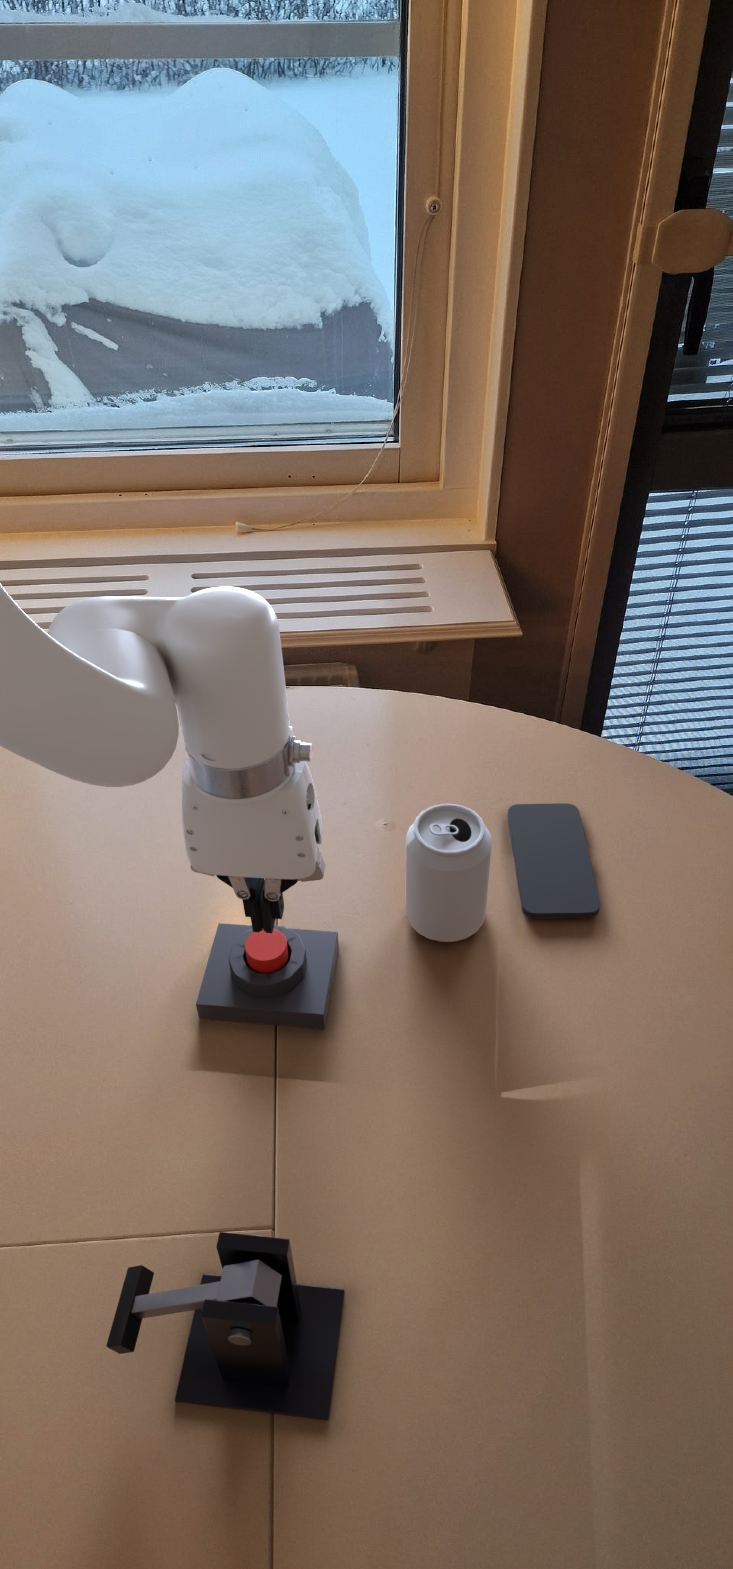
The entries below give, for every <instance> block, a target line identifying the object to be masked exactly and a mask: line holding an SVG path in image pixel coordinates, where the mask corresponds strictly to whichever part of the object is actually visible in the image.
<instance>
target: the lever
mask: <svg viewBox="0 0 733 1569" xmlns="http://www.w3.org/2000/svg"><path fill="white" fill-rule="evenodd" d="M154 1275H155V1272H154V1271H153V1270H151V1269H149V1268H147V1267H146V1266H144V1265H142V1264H140V1265H134V1266H130V1267H128V1268H127V1269H126V1274H125V1277H124V1280H123V1284H122V1288H121V1292H120V1295H119V1298H118V1302H117V1306H116V1309H115V1313H114V1317H113V1319H112V1324H111V1327H110V1331H109V1334H108V1337H107V1342H106V1346H105V1347H106V1348H108V1349H109V1350H112V1351H113V1352H114V1353H117V1354H119V1355H122V1354H129V1353H134V1352H135V1349H136V1346H137V1341H138V1338H139V1334H140V1330H141V1326H142V1323H143V1319H148V1318H154V1317H160V1316H166V1315H173V1314H179V1313H184V1312H190V1311H195V1310H198V1309H203V1305H204V1301H205V1299H210V1300H219V1301H228V1302H237V1303H246V1304H255V1305H264V1306H273V1307H277V1302H278V1296H279V1290H280V1284H281V1278H282V1275H281V1274H279V1273H278V1272H276V1271H275V1270H273V1269H272V1268H270V1267H269V1266H267V1265H266V1264H265V1263H263V1262H262V1261H260V1260H253V1261H247V1262H242V1263H237V1264H231V1265H226V1266H224V1267H223V1269H222V1272H221V1276H222V1277H221V1281H220V1282H214V1283H208V1284H202V1285H201V1284H198V1285H191V1286H186V1287H181V1288H174V1289H168V1290H163V1291H157V1292H152V1293H150V1291H151V1287H152V1284H153V1279H154Z"/></svg>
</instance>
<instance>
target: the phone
mask: <svg viewBox="0 0 733 1569" xmlns="http://www.w3.org/2000/svg"><path fill="white" fill-rule="evenodd" d="M507 822H508V823H507V824H508V829H509V835H510V836H509V837H510V841H511V847H512V856H513V861H514V868H515V875H516V882H517V883H516V884H517V888H518V893H519V900H520V907H521V911H522V913H523V915H525V916H526V917H528V918H531V919H582V918H584V919H585V918H593V917H596V916H597V915H598V914H599V913H600V909H601V901H600V895H599V891H598V888H597V883H596V878H595V874H594V869H593V865H592V861H591V856H590V852H589V849H588V842H587V839H586V834H585V830H584V826H583V822H582V818H581V813H580V810H579V808H578V807H577V806H576V805H575V804H572V803H562V802H559V803H518V804H513V805H511V806H510V807H509V808H508V810H507Z"/></svg>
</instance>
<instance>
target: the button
mask: <svg viewBox="0 0 733 1569" xmlns="http://www.w3.org/2000/svg"><path fill="white" fill-rule="evenodd" d="M245 951H246V957H247V962H248V965H249V966H250V967H251V968H252V969H253V970H254V971H256V972H259V973H272V972H275V971H278V970H279V969H281V968H282V967H283V966H284V965H285V964H286V962H287V960H288V948H287V940H286V937H285V936H284V935H283V933H281V932H280V931H278V930H276V929H273V933H266V931H264V930H262V931H260V932H253V933H252V934H250V935H249V936H248V938H247V940H246V942H245Z"/></svg>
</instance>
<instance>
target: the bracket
mask: <svg viewBox="0 0 733 1569" xmlns="http://www.w3.org/2000/svg"><path fill="white" fill-rule="evenodd" d="M215 1248H216V1251H217V1253H218V1258H219V1262H220V1265H221V1266H220V1267H221V1268H222V1270H223V1267H224V1266H226V1265H231V1264H237V1263H242V1262H247V1261H253V1260H260V1261H262V1262H263V1263H265V1264H266V1265H267V1266H269V1267H270V1268H272V1269H273V1270H275V1271H276V1272H278V1273H279V1274H281V1275H282V1278H281V1284H280V1290H279V1296H278V1302H277V1307H273V1306H264V1305H255V1304H246V1303H237V1302H228V1301H219V1300H210V1299H205V1301H204V1305H203V1309H198V1310H194V1312H193V1317H192V1321H191V1326H190V1329H189V1335H188V1338H187V1343H186V1347H185V1352H184V1356H183V1361H182V1366H181V1370H180V1374H179V1378H178V1384H177V1387H176V1393H175V1397H174V1401H175V1403H180V1404H190V1405H197V1406H206V1407H214V1408H221V1409H222V1408H223V1409H232V1410H239V1411H247V1412H255V1413H264V1414H271V1415H279V1416H280V1415H281V1416H289V1417H296V1418H304V1419H313V1420H320V1421H321V1420H322V1421H329V1420H330V1412H331V1406H332V1405H331V1404H332V1398H333V1397H332V1395H333V1387H334V1381H335V1370H336V1362H337V1356H338V1347H339V1340H340V1331H341V1324H342V1315H343V1309H344V1308H343V1307H344V1299H345V1292H346V1291H345V1289H344V1288H338V1287H337V1288H336V1287H327V1286H317V1285H308V1284H300V1283H297V1277H296V1270H295V1265H294V1259H293V1253H292V1246H291V1241H290V1239H289V1238H282V1237H272V1236H264V1235H259V1234H244V1233H234V1232H227V1231H220V1232H219V1233H218V1236H217V1242H216V1245H215ZM221 1277H222V1275H217V1274H216V1275H215V1274H209V1273H208V1274H207V1273H203V1274H202V1277H201V1281H200V1285H202V1284H208V1283H214V1282H220V1281H221Z"/></svg>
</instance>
